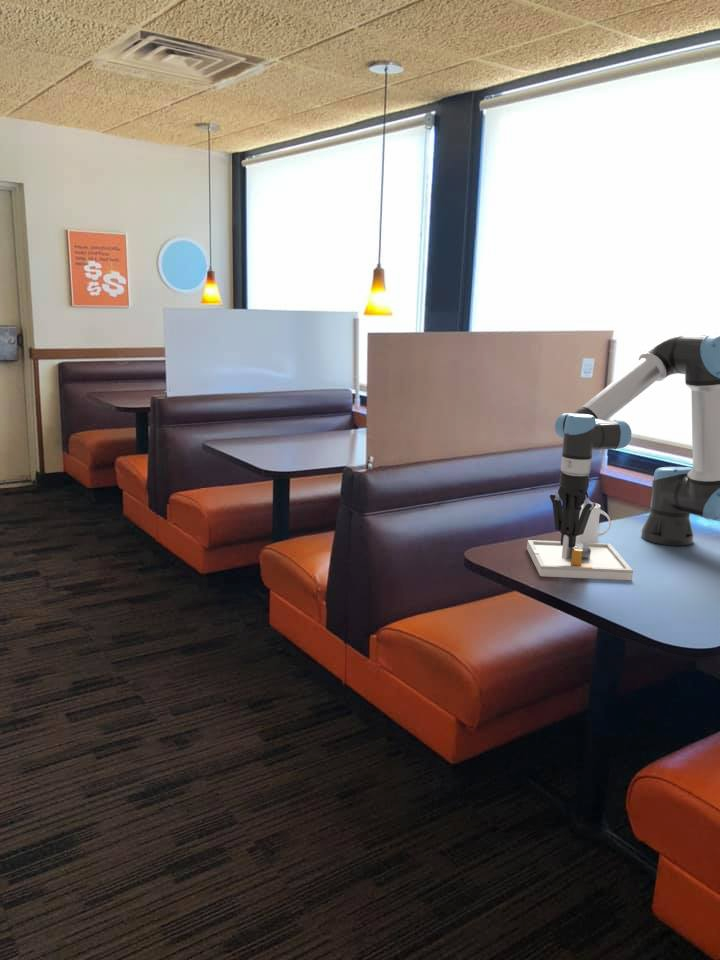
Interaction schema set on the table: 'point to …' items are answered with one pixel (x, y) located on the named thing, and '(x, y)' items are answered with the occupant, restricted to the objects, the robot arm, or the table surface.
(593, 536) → the mug
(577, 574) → the white square tray
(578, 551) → the dark grey handled piece
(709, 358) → the robot arm
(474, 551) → the table surface
